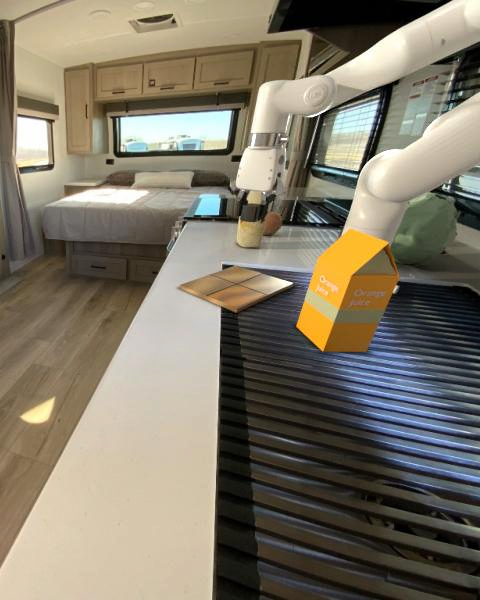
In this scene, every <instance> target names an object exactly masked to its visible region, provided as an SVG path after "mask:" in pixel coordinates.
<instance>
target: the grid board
mask: <svg viewBox="0 0 480 600" xmlns="http://www.w3.org/2000/svg"><path fill="white" fill-rule="evenodd" d="M293 286H294V282H291V281H287V280H284V279H281V278H278V277H274V276H271V275H268V274H266V273H263V272H259V271H255V270H252V269H250V268H246V267H243V266H239V265H234V266H231V267H228V268H224V269H222V270H219V271H216V272H213V273H209V274H208V275H205V276H202V277H199V278H195V279H193V280H189V281H187V282H184V283H181V284H179V288H178V289H179V290H182V291H183V292H186V293H188V294H191V295H193V296H195V297H198V298H201V299H202V300H206V302H207V301H208V302H210V303H212V304H215V305H217V306H220V307H222V308H224V309H226V310H229V311H231V312H233V313H236V314H237V313H239V312H242V311H244V310H246V309H248V308H250V307H252V306H254V305H257V304H259V303H261V302H263V301H265V300H267V299H270V298H271V297H274V296H276V295H277V294H280V293H282V292H284V291H287V290H288V289H291V288H293Z"/></svg>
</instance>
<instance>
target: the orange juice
mask: <svg viewBox="0 0 480 600" xmlns="http://www.w3.org/2000/svg"><path fill="white" fill-rule="evenodd" d="M341 235H342V234H341ZM341 235H340V237H339V238H338V239H337V240H336V241H335V242H333V244H331V245H330V246H329V247H328V248H327V249H326V250H325V251H323V253H322V254H321V255H320V256H319V257H318V258H317V260H316V263H315V267H314V269H313V273H312V276H311V279H310V282H309V285H308V288H307V291H306V294H305V297H304V302H303V304H302V307H301V310H300V313H299V316H298V319H297V323H296V325H295V326H296V328H297V329H298V330H299V331H300V332H301V333H302V334H303V335H304V336H305V337H307V338H308V339H309V341H311V342H312V343H313V344H314V345H315V346H316V347H317V348H318V349H319V350H320V351H322V352H323V353H324V352H327V353H367V351H368V349H369V347H370V344H371V342H372V340H373V338H374V337H375V334H376V331H377V329H378V327H379V325H380V324H381V321H382V319H383V316H384V314H385V312H386V309H387V307H388V304H389V302H390V300H391V298H392V295H393V291H394V289H395V286H396V285H397V284H398V282H399V280H400V277H401V275H399V272H398V269H397V266H396V262H394V259H393V256H392V253H391V250H390V247H389V244H388V243H389V242H387V241H384V240H381V239H378V238H375V237H373V236H370V235H367V234H364V233H361V232H359V231H356V230H353V229H349V230H348V231H347V232H345V233H344V234H343V235H342V236H341Z"/></svg>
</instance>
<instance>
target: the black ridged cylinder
mask: <svg viewBox="0 0 480 600" xmlns="http://www.w3.org/2000/svg"><path fill="white" fill-rule="evenodd" d="M258 205H259V204H254V203H246V204H243V206H242V211H241V216H239V217H240V220H241V221H245V222H259V221H260V220H256V214H257V209H258Z"/></svg>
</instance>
